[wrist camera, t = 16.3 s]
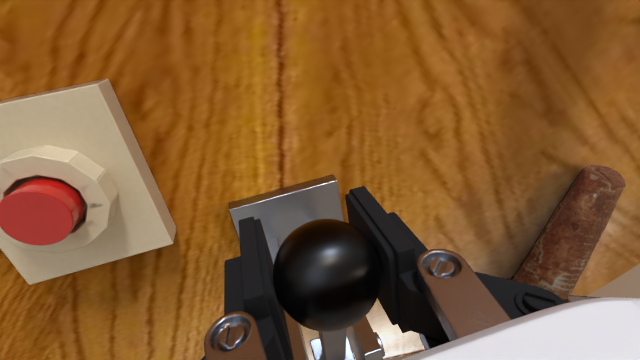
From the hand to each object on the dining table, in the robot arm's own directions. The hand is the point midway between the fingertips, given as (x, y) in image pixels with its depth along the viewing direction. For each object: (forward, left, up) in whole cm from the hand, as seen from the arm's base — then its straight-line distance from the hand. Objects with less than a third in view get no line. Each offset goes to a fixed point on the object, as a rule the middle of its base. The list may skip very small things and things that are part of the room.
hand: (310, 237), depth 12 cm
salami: (+20, +28, -15) cm, 38 cm away
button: (0, -14, -11) cm, 18 cm away
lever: (+5, 0, -1) cm, 5 cm away
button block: (0, -14, -15) cm, 20 cm away
